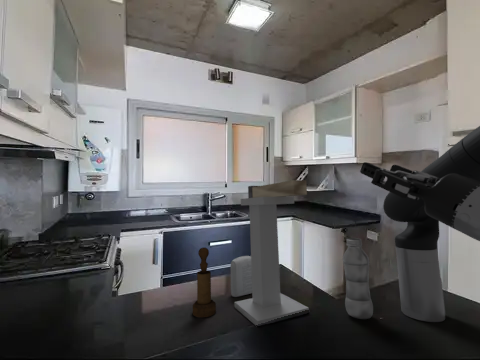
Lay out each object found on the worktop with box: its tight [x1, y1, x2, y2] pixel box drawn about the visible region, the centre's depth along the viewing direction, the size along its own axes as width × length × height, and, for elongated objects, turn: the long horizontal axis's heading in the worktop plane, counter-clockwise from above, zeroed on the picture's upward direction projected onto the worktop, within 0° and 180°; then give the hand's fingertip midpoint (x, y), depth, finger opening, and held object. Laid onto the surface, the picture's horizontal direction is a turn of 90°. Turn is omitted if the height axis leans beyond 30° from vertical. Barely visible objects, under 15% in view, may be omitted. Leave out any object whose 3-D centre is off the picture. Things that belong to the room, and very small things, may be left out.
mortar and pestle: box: [192, 247, 217, 318], centre depth 71 cm, size 7×6×18 cm
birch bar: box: [247, 179, 308, 198], centre depth 70 cm, size 4×23×4 cm, turn 25°
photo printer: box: [230, 255, 252, 298], centre depth 85 cm, size 10×4×12 cm, turn 124°
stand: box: [234, 196, 310, 326], centre depth 72 cm, size 16×14×32 cm
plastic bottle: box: [341, 237, 374, 320], centre depth 65 cm, size 6×7×20 cm
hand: (377, 168), depth 48 cm, fingers open, 8 cm apart
